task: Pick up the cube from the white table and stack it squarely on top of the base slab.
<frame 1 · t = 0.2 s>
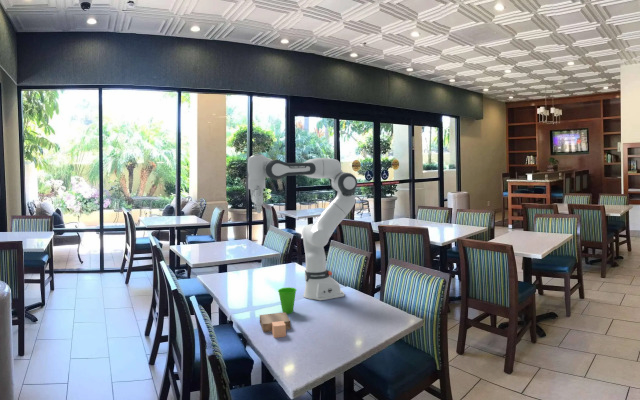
hand: (257, 212, 223), 48 cm above the table, tool pointing down, fingers open, 8 cm apart
cup: (287, 312, 209), on the table
cube: (279, 335, 181), on the table
base slab: (274, 326, 192), on the table
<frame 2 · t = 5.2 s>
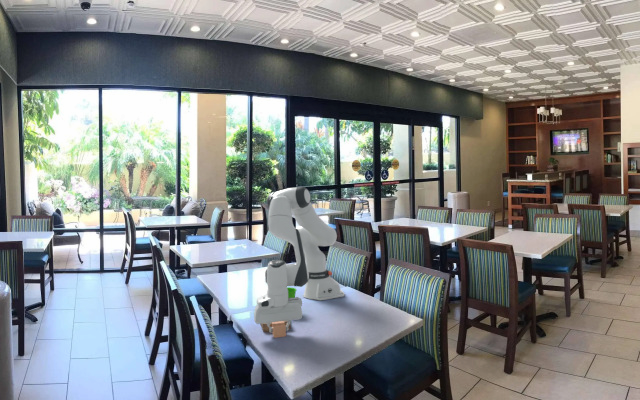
hand: (278, 331, 181), 2 cm above the table, tool pointing down, fingers closed on cube, 5 cm apart
cube: (279, 334, 181), on the table, touching gripper
everything else where it was.
when the fingers open (7 cm above the table, at t = 9.9 s): cube drops 2 cm, point 4 cm above the table.
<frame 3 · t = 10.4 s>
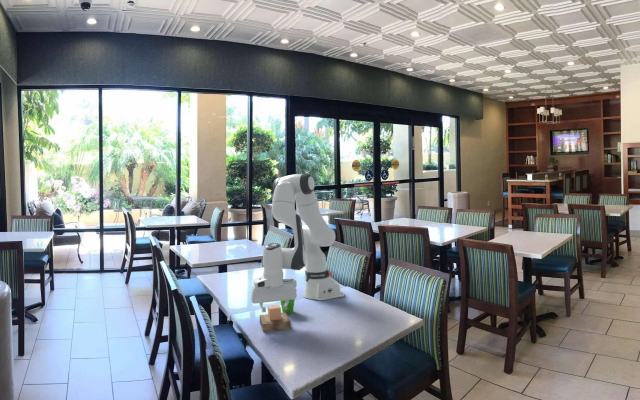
hand: (274, 310, 191), 7 cm above the table, tool pointing down, fingers open, 8 cm apart
cube: (274, 318, 191), point 4 cm above the table
everything else where it was.
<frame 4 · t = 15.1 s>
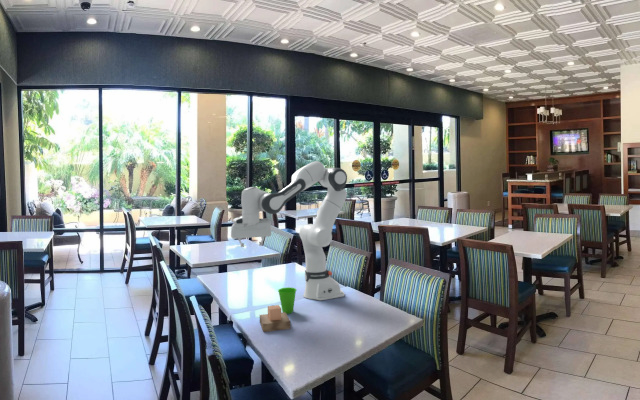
hand: (251, 246, 217), 31 cm above the table, tool pointing down, fingers open, 8 cm apart
cube: (274, 318, 191), point 4 cm above the table, touching base slab
base slab: (274, 326, 192), on the table, touching cube
everything else where it was.
at the end: cube inside the target area on the base slab (0.5 cm from its centre), point 4.0 cm above the base slab's base; cube tilted 0°; the gripper is holding nothing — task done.
